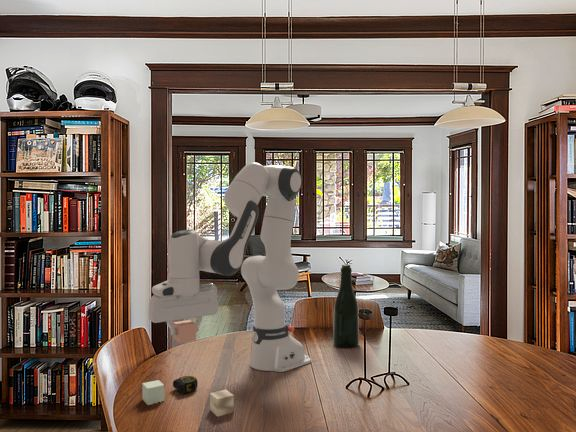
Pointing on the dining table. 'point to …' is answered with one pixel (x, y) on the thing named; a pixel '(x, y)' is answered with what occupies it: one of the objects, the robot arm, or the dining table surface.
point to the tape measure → (185, 384)
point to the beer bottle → (346, 313)
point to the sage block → (153, 392)
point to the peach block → (185, 331)
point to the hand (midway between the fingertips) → (184, 333)
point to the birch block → (221, 402)
